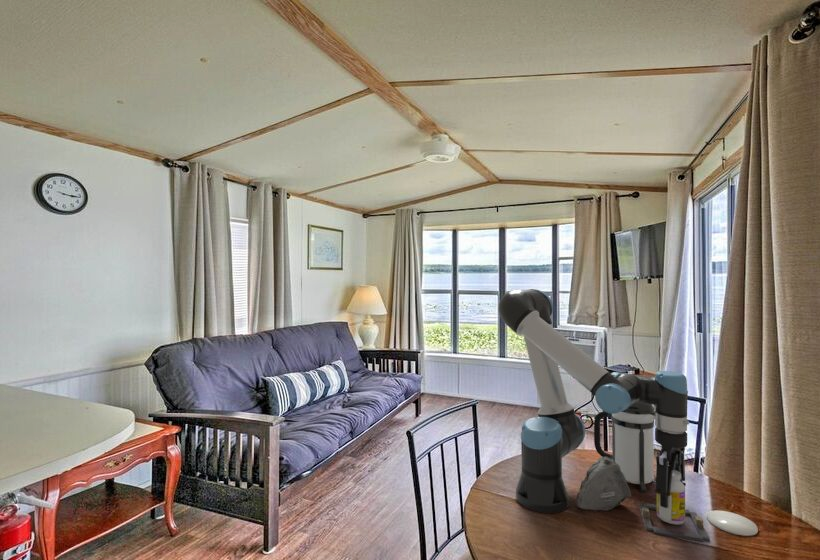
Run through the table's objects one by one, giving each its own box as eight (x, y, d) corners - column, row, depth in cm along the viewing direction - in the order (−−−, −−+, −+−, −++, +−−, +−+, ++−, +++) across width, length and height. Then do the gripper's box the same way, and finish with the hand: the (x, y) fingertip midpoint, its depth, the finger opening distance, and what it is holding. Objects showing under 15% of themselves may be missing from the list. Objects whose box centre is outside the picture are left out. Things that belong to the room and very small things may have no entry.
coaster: (713, 530, 111) (713, 528, 111) (701, 509, 121) (701, 507, 121) (765, 539, 107) (765, 537, 107) (748, 517, 117) (748, 514, 117)
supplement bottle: (682, 528, 110) (682, 480, 110) (654, 519, 115) (654, 472, 114) (687, 517, 115) (687, 471, 115) (659, 509, 120) (659, 464, 119)
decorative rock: (624, 502, 125) (623, 451, 125) (637, 514, 119) (636, 461, 119) (570, 503, 125) (570, 453, 125) (580, 516, 118) (580, 463, 118)
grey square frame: (646, 531, 111) (646, 522, 111) (638, 504, 124) (638, 496, 124) (710, 543, 105) (710, 533, 105) (695, 514, 119) (695, 505, 119)
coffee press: (646, 470, 146) (645, 384, 146) (667, 494, 130) (667, 397, 130) (593, 468, 148) (593, 383, 148) (608, 490, 132) (607, 395, 132)
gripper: (672, 442, 106) (672, 533, 106) (699, 425, 118) (699, 506, 118) (640, 433, 111) (640, 519, 112) (669, 418, 124) (669, 495, 124)
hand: (670, 513), depth 115 cm, fingers closed on supplement bottle, 7 cm apart
